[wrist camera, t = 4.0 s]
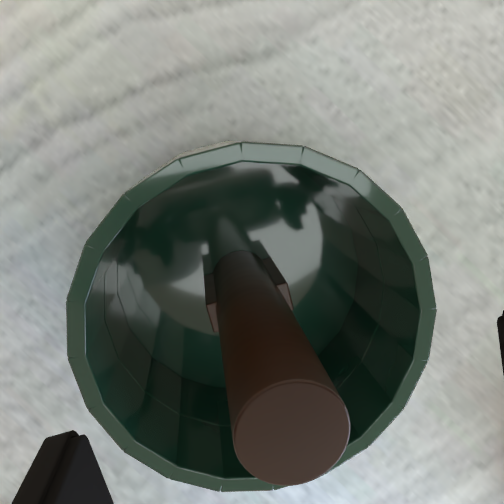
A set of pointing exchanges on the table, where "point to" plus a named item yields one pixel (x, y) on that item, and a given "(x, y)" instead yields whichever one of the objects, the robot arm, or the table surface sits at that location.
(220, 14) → the table surface
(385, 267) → the pot
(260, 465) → the brown cylindrical rod
